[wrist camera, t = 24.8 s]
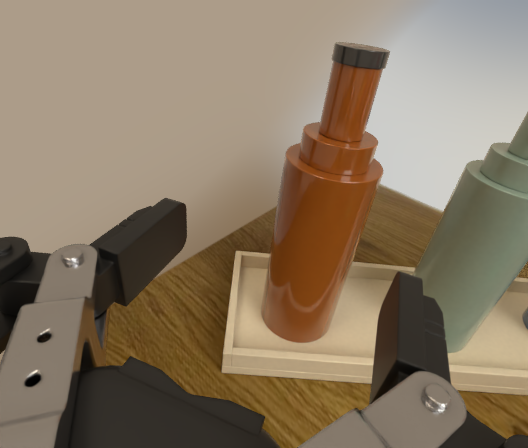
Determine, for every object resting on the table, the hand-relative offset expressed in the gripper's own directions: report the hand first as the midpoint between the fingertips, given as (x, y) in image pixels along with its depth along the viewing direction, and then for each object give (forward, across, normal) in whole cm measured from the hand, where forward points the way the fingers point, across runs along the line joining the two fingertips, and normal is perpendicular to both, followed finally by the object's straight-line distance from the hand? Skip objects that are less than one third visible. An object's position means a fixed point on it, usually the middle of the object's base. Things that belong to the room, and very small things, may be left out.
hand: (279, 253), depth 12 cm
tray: (+14, -11, +15) cm, 24 cm away
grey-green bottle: (+14, -11, +14) cm, 23 cm away
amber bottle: (+10, 0, +14) cm, 17 cm away
